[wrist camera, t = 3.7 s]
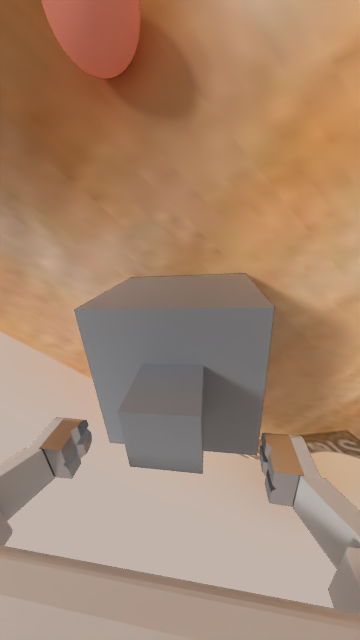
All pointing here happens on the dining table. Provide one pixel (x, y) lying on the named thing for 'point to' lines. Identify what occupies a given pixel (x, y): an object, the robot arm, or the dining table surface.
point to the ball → (96, 33)
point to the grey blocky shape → (179, 366)
